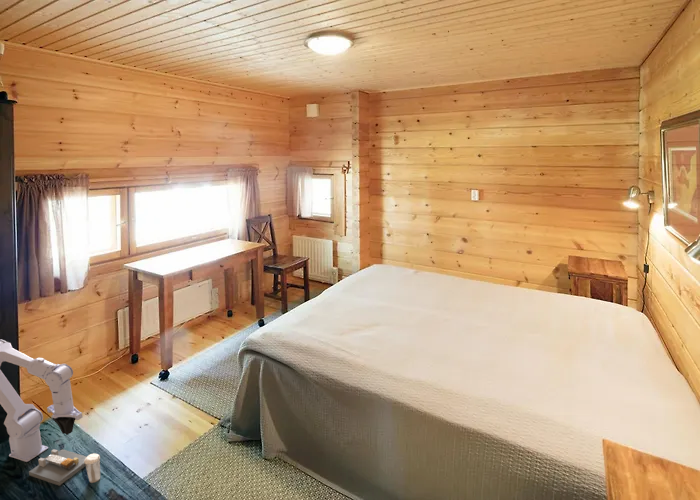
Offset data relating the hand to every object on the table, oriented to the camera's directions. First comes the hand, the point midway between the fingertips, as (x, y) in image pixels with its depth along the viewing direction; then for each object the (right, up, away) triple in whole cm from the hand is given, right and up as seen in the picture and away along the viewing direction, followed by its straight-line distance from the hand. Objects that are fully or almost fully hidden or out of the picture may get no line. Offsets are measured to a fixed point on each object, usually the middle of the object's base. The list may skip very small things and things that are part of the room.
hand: (67, 432), depth 150 cm
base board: (+1, -11, -4) cm, 12 cm away
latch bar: (0, -8, -5) cm, 9 cm away
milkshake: (+16, -12, -9) cm, 22 cm away
